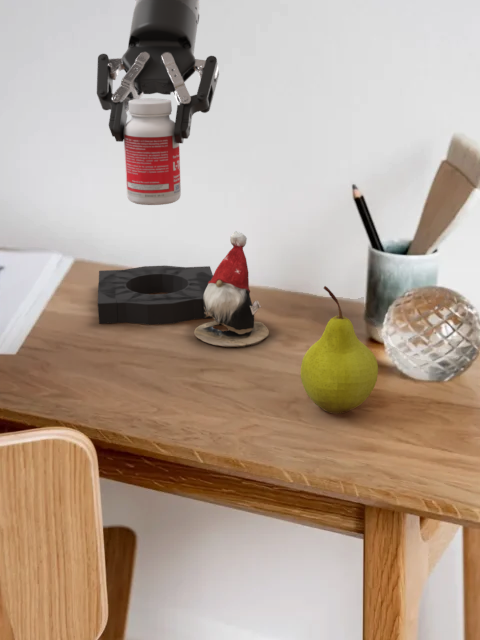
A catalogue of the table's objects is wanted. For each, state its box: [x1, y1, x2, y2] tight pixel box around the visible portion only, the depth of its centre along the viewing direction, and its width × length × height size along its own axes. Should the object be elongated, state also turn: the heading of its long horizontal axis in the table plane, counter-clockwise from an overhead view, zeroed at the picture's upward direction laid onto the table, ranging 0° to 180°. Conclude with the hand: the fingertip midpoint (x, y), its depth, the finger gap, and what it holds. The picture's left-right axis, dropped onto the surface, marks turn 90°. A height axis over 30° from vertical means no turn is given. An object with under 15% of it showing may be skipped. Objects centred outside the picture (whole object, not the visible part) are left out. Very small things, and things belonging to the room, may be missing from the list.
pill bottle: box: [123, 97, 182, 206], centre depth 95 cm, size 6×6×11 cm
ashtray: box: [97, 265, 214, 326], centre depth 102 cm, size 14×14×2 cm
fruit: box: [300, 285, 379, 415], centre depth 75 cm, size 7×7×12 cm
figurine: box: [193, 230, 270, 348], centre depth 93 cm, size 8×10×12 cm
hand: (148, 137), depth 93 cm, fingers closed on pill bottle, 6 cm apart
